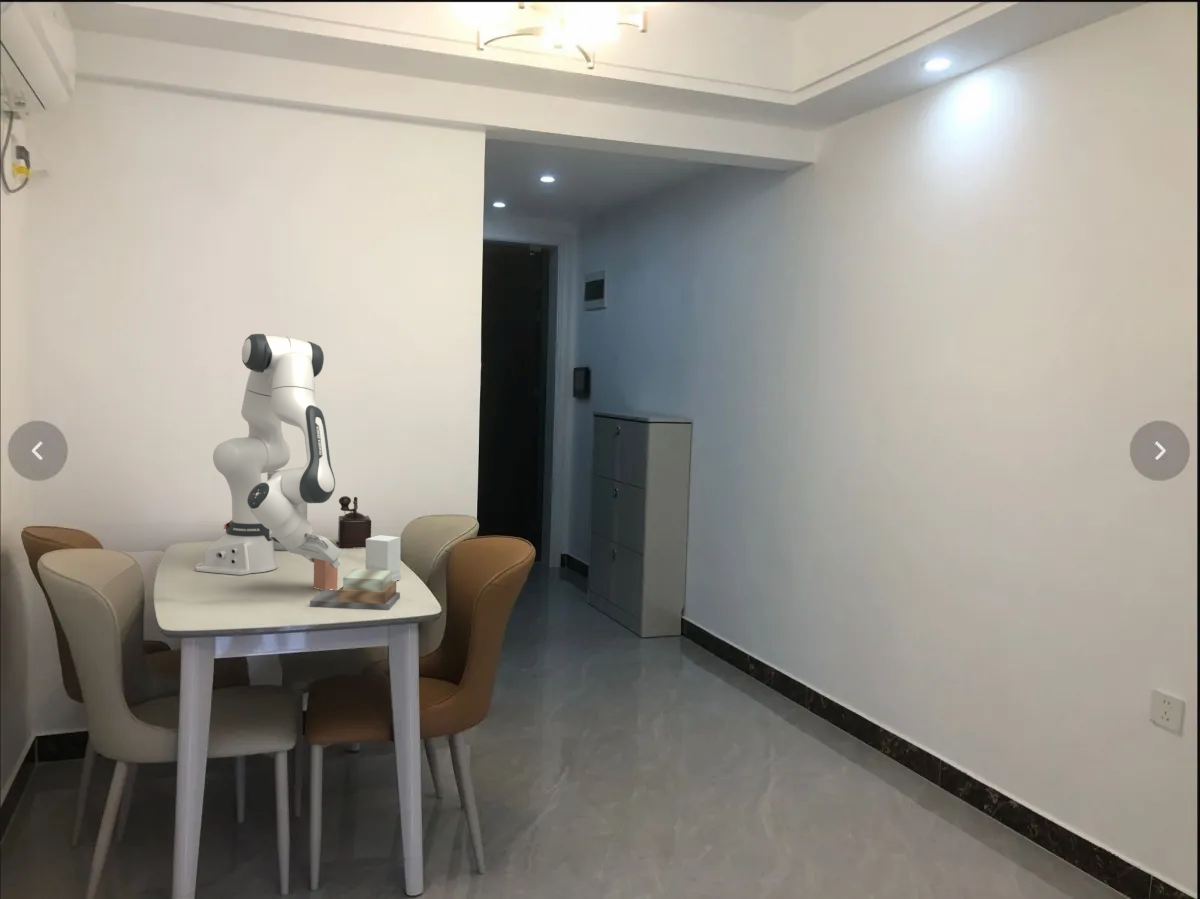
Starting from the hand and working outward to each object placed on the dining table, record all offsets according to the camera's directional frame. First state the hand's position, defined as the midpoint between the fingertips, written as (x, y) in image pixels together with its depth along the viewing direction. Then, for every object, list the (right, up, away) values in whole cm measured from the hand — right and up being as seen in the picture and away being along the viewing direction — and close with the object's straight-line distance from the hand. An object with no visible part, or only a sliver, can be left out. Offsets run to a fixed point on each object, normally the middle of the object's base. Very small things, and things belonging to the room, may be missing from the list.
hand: (325, 563), depth 247 cm
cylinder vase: (-29, -2, +53) cm, 60 cm away
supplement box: (+13, -7, +12) cm, 19 cm away
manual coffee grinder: (-8, -2, +58) cm, 59 cm away
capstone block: (0, -7, +1) cm, 7 cm away
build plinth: (+12, -9, -12) cm, 19 cm away
